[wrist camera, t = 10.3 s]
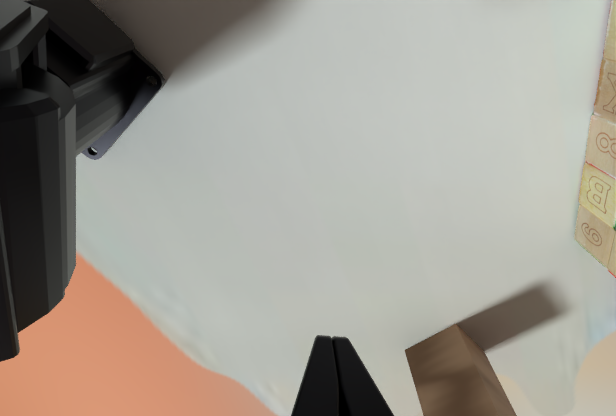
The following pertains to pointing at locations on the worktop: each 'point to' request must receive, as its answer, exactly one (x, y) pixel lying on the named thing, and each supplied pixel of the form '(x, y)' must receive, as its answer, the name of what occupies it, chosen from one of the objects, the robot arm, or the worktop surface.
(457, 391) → the walnut block
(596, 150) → the stack of blocks
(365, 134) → the worktop surface
